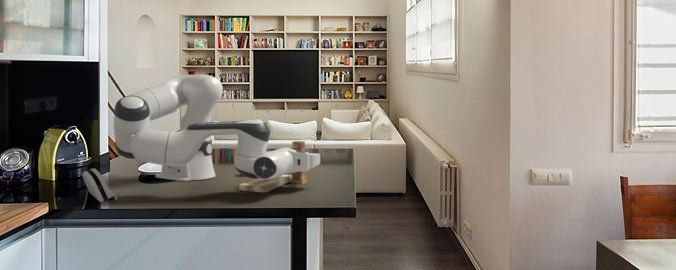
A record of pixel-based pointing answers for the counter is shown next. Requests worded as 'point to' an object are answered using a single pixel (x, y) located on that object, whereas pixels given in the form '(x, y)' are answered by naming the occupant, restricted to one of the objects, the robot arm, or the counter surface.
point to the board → (264, 184)
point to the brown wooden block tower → (298, 176)
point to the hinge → (97, 185)
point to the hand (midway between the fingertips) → (299, 155)
